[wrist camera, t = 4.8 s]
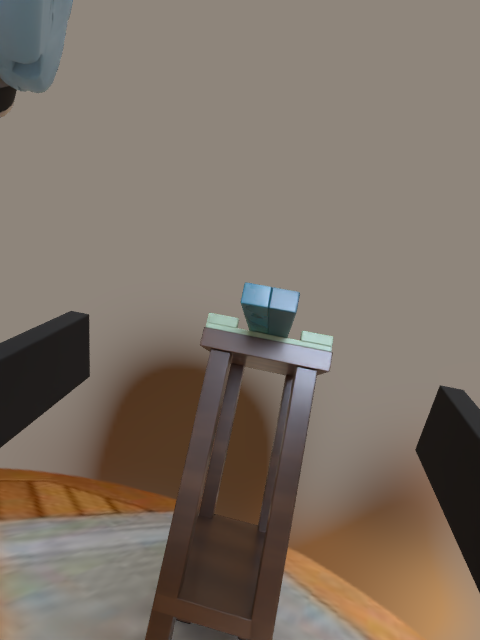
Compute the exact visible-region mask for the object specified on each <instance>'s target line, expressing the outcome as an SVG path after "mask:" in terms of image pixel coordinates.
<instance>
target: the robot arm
mask: <svg viewBox="0 0 480 640" xmlns="http://www.w3.org/2000/svg"><path fill="white" fill-rule="evenodd" d="M72 2H73V0H0V117H3V116H5V115H6V114H7V113H8V112H9V111H10V110H11V108H12V106H13V104H14V99H15V94H16V90H20V91H31V92H35V93H42V92H45V91H46V90H47V89H48V88H49V87H50V86H51V84H52V82H53V80H54V77H55V75H56V72H57V70H58V66H59V63H60V59H61V55H62V51H63V46H64V38H65V35H66V28H67V21H68V19H69V16H70V13H71V8H72ZM89 367H90V361H89V314H84V313H79V312H74V311H70V312H68V313H65V314H63V315H61V316H59V317H57V318H54V319H52V320H50V321H48V322H46V323H44V324H41V325H39V326H37V327H35V328H32V329H30V330H28V331H26V332H24V333H22V334H19V335H17V336H15V337H13V338H10V339H8V340H6V341H4V342H2V343H0V448H1V447H2V446H3V445H4V444H6V443H7V442H8V441H9V440H11V439H12V438H13V437H14V436H16V435H17V434H18V433H19V432H21V431H22V430H23V429H24V428H26V427H27V426H28V425H29V424H31V423H32V422H33V421H34V420H36V419H37V418H38V417H39V416H41V415H42V414H43V413H44V412H46V411H47V410H48V409H49V408H51V407H52V406H53V405H54V404H56V403H57V402H58V401H59V400H61V399H62V398H63V397H64V396H66V395H67V394H68V393H70V392H71V391H72V390H73V389H74V388H75V387H77V386H78V385H80V384H81V383H82V382H83V381H85V380H86V379H87V378H88V377H89V376H90V368H89ZM416 452H417V454H418V457H419V459H420V461H421V463H422V466H423V468H424V470H425V472H426V474H427V477H428V479H429V481H430V483H431V486H432V488H433V490H434V492H435V495H436V497H437V499H438V501H439V503H440V506H441V508H442V510H443V512H444V515H445V517H446V519H447V521H448V523H449V526H450V528H451V530H452V532H453V535H454V537H455V539H456V541H457V543H458V545H459V548H460V550H461V552H462V555H463V557H464V559H465V561H466V563H467V566H468V568H469V570H470V572H471V575H472V577H473V579H474V581H475V583H476V585H477V588H478V590H479V592H480V409H479V408H478V407H477V406H476V405H475V403H474V402H473V401H472V400H471V399H470V397H469V396H468V395H467V394H466V393H465V392H464V391H463V390H460V389H455V388H450V387H445V386H440V387H439V389H438V392H437V395H436V397H435V400H434V402H433V405H432V408H431V410H430V413H429V415H428V418H427V421H426V423H425V426H424V428H423V431H422V434H421V436H420V439H419V442H418V444H417V447H416Z"/></svg>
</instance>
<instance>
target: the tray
mask: <svg viewBox="0 0 480 640" xmlns="http://www.w3.org/2000/svg"><path fill="white" fill-rule="evenodd" d="M238 323H239V319H238V318H234V317H229V316H223V315H219V314H213V313H209V315H208V320H207V324H206V327H208V328H213V329H218V330H223V331H228V332H233V333H238V334H243V335H248V336H253V337H258V338H263V339H268V340H273V341H279V342H284V343H289V344H294V345H299V346H304V347H309V348H314V349H319V350H324V351H329V352H331V350H332V344H333V336H328V335H323V334H317V333H312V332H307V331H302V333H301V338H300V340H295V339H289V338H284V337H279V336H274V335H269V334H264V333H259V332H254V331H248V330H243V329H238V328H237V327H238Z"/></svg>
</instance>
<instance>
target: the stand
mask: <svg viewBox="0 0 480 640" xmlns="http://www.w3.org/2000/svg"><path fill="white" fill-rule="evenodd" d="M200 346H202V347H203V348H205V349H207V350H208V351H210V356H209V360H208V364H207V369H206V373H205V378H204V382H203V386H202V391H201V395H200V399H199V404H198V408H197V413H196V417H195V421H194V426H193V431H192V435H191V439H190V443H189V448H188V453H187V457H186V461H185V466H184V470H183V474H182V479H181V483H180V488H179V492H178V496H177V501H176V505H175V510H174V514H173V518H172V523H171V527H170V532H169V536H168V541H167V545H166V549H165V554H164V558H163V563H162V567H161V571H160V576H159V580H158V585H157V589H156V594H155V598H154V602H153V607H152V611H151V616H150V620H149V624H148V629H147V633H146V638H145V640H171V639H172V634H173V630H174V625H175V620H179V621H182V622H186V623H189V624H190V623H191V622H192V623H195V624H199V625H202V626H205V627H208V628H212V629H215V630H218V631H222V632H225V633H228V634H232V635H235V636H238V638H239V639H242V640H272V637H273V632H274V626H275V620H276V614H277V608H278V602H279V596H280V590H281V584H282V578H283V572H284V566H285V560H286V554H287V549H288V542H289V536H290V531H291V524H292V518H293V512H294V507H295V501H296V495H297V489H298V483H299V477H300V471H301V465H302V459H303V454H304V448H305V442H306V436H307V429H308V424H309V418H310V412H311V406H312V400H313V394H314V389H315V383H316V376H317V375H319V374H323V373H326V372H329V371H330V365H331V360H332V354H333V353H332V352H329V351H324V350H319V349H314V348H309V347H304V346H299V345H294V344H289V343H284V342H279V341H273V340H268V339H263V338H258V337H253V336H248V335H243V334H238V333H233V332H228V331H223V330H218V329H213V328H208V327H204V330H203V334H202V338H201V343H200ZM230 364H231V366H230ZM245 367H249V368H253V369H258V370H263V371H268V372H272V373H277V374H282V375H286V378H285V383H284V389H283V393H282V400H281V404H280V410H279V416H278V421H277V426H276V431H275V437H274V442H273V448H272V453H271V458H270V464H269V470H268V475H267V480H266V485H265V491H264V497H263V502H262V507H261V513H260V518H259V523H258V525H255V524H251V523H247V522H243V521H240V520H236V519H232V518H228V517H225V516H221V515H217V514H214V513H215V508H216V503H217V498H218V493H219V489H220V484H221V479H222V474H223V469H224V464H225V460H226V455H227V450H228V445H229V440H230V435H231V431H232V426H233V421H234V416H235V411H236V407H237V402H238V397H239V391H240V387H241V382H242V377H243V372H244V368H245ZM229 369H230V371H229ZM228 373H229V375H228ZM227 378H228V380H227ZM226 383H227V385H226ZM225 387H226V389H225ZM224 391H225V394H224ZM223 397H224V399H223ZM222 401H223V403H222ZM221 406H222V408H221ZM220 411H221V413H220ZM219 415H220V417H219ZM218 420H219V422H218ZM217 425H218V427H217ZM216 429H217V431H216ZM215 433H216V436H215ZM214 439H215V441H214ZM213 443H214V445H213ZM212 448H213V450H212ZM211 453H212V455H211ZM210 457H211V459H210ZM209 462H210V464H209ZM208 467H209V469H208ZM207 471H208V473H207ZM206 476H207V478H206ZM205 481H206V483H205ZM204 485H205V487H204ZM204 488H205V489H204ZM203 490H204V492H203ZM202 495H203V497H202ZM201 499H202V501H201ZM200 504H201V506H200ZM199 509H200V511H199ZM198 513H199V515H198Z"/></svg>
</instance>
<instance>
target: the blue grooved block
mask: <svg viewBox="0 0 480 640" xmlns="http://www.w3.org/2000/svg"><path fill="white" fill-rule="evenodd" d="M299 296H300V293H299V292H297V291H291V290H286V289H280V288H275V287H273V288H272V287H269V286H263V285H258V284H252V283H245V284H244V289H243V293H242V298H241V305H242V308H243V311H244V315H245V318H246V321H247V324H248V327H249V330H250V331H254V332H259V333H264V334H269V335H274V336H279V337H284V338H287V337H288V334H289V332H290V329H291V326H292V323H293V321H294V318H295V315H296V312H297V307H298V302H299Z"/></svg>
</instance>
